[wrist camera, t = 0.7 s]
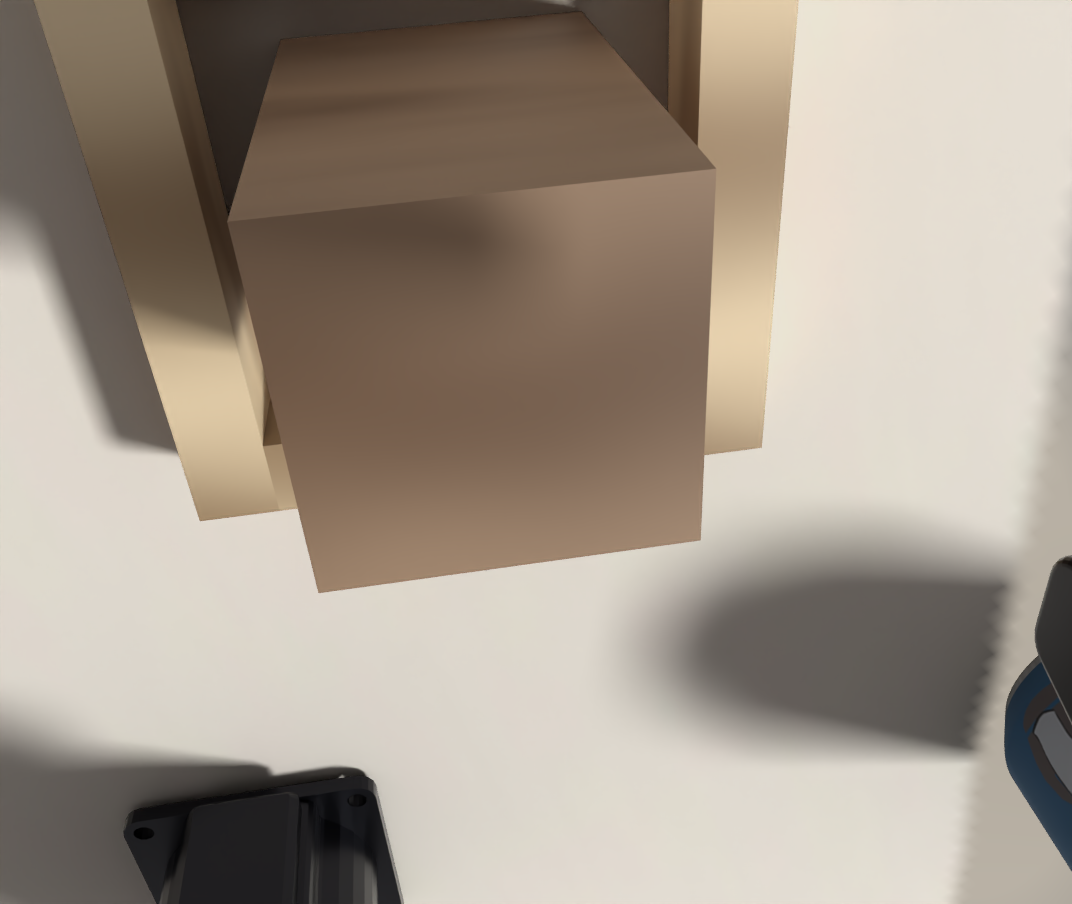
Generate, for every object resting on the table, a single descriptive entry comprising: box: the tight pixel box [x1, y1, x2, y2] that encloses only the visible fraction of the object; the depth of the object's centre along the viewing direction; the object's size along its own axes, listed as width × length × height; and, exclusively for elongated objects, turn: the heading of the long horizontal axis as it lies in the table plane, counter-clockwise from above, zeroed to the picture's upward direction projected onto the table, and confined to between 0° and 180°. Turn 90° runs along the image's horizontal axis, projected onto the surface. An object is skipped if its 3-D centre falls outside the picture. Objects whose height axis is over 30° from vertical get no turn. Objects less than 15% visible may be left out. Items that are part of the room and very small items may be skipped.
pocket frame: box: [34, 0, 799, 521], centre depth 17 cm, size 11×11×2 cm
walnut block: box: [227, 11, 716, 593], centre depth 15 cm, size 5×5×8 cm
